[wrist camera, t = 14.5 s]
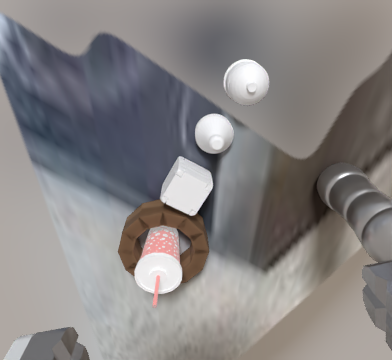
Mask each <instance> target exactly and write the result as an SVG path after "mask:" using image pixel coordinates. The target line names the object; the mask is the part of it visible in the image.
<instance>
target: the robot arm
mask: <svg viewBox="0 0 392 360" xmlns="http://www.w3.org/2000/svg"><path fill="white" fill-rule="evenodd" d="M362 278H363V279H364V281H365V282H366V283H367V285H366V286H365V287H364V289H363V301H364V304H365V307H366V310H367V312H368V314H369V316H370V318H371V320H372V321H373V323H374V325H375V326H376V327H378V328H379V329H381V330H383V331H385V332H386V342H387V344H388V346H389V347H390V349H391V350H392V260H388V261H384V262H379V263H375V264H370V265H365V266H364V267H363V269H362ZM77 338H78V334H77V332H76V331H75V329H74V328H73V327H72V328H71V327H67V328H61V329H56V330H50V331H45V332H39V333H36V334H30V335H24V336H20V337H19V338H17V339H16V340H15V341H14V343H13V344H12V346H11V348H10V349H9V351H8V353H7V355H6V356H5V358H4V360H90V359H89V355H88V352H87V350H86V348H85V346H83V345H81V344H80V343H78V342H76V341H77Z"/></svg>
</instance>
